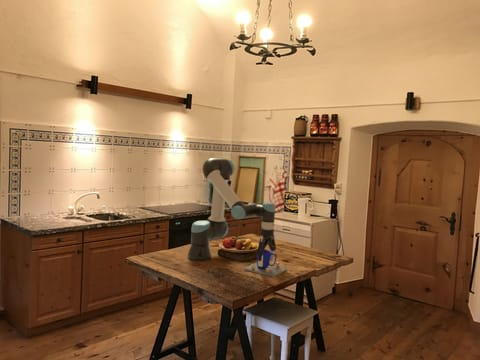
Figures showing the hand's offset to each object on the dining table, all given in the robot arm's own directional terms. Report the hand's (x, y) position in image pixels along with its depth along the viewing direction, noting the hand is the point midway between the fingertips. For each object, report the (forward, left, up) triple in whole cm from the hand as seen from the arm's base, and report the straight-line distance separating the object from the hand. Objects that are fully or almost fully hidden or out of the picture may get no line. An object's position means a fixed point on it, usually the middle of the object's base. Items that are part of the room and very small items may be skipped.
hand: (265, 263), depth 241 cm
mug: (0, +1, -3) cm, 3 cm away
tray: (0, 0, -4) cm, 4 cm away
